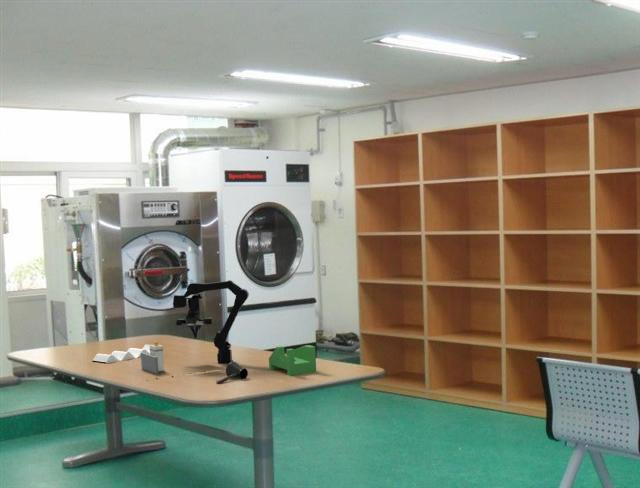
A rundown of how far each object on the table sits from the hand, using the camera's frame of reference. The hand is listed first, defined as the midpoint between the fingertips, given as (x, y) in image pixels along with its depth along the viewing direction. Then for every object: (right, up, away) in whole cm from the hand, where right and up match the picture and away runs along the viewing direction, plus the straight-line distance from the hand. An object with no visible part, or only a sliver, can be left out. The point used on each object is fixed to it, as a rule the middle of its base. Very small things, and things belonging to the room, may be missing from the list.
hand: (196, 338), depth 429 cm
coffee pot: (+22, -14, -49) cm, 55 cm away
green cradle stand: (+50, -12, -33) cm, 61 cm away
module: (-16, -13, -18) cm, 28 cm away
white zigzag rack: (-44, -15, +35) cm, 58 cm away
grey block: (-14, -14, -17) cm, 26 cm away
